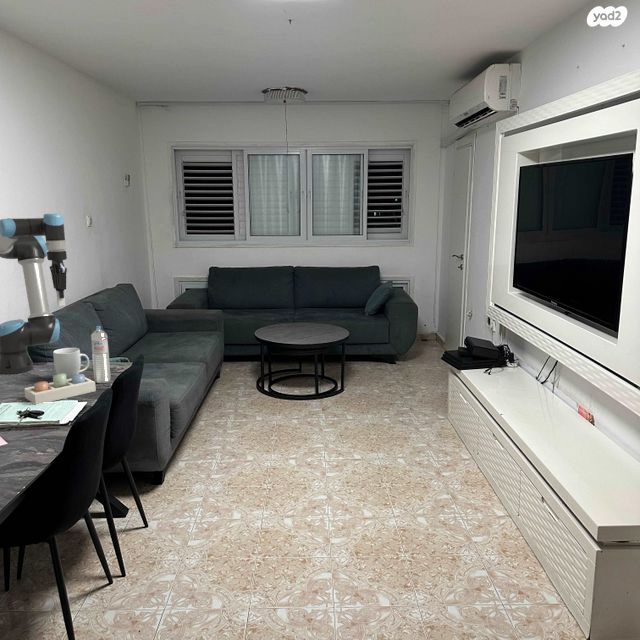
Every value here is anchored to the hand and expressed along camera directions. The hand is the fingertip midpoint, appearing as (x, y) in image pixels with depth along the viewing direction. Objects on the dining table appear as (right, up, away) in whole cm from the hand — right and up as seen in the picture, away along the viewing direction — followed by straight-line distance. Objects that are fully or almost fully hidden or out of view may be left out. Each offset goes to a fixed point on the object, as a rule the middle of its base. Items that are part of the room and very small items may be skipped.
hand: (61, 305), depth 248 cm
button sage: (+4, -34, -11) cm, 36 cm away
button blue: (+10, -35, -5) cm, 36 cm away
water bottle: (+15, -34, +7) cm, 38 cm away
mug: (-1, -33, +13) cm, 35 cm away
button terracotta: (-1, -37, -15) cm, 40 cm away
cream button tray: (+4, -37, -10) cm, 39 cm away
